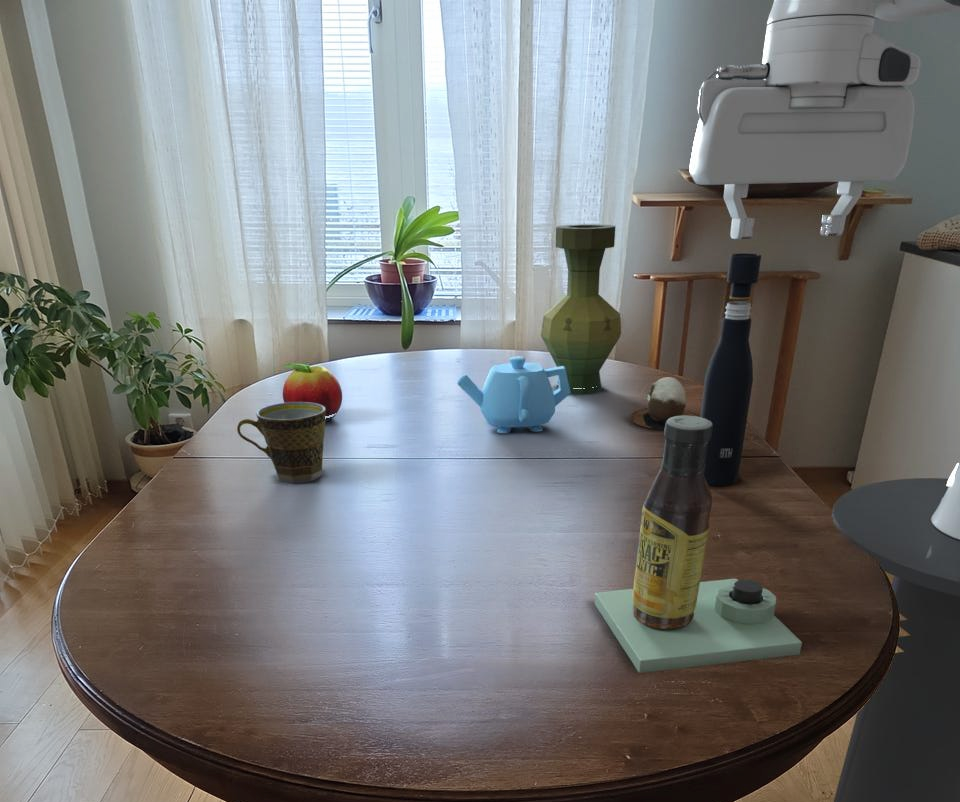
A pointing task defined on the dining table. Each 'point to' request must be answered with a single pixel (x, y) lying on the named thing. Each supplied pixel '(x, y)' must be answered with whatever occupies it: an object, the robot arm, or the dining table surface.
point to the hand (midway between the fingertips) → (786, 237)
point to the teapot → (518, 394)
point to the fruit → (313, 387)
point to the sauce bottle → (674, 528)
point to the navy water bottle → (730, 377)
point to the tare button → (747, 592)
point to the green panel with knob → (700, 630)
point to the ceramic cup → (292, 439)
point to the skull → (662, 404)
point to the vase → (582, 309)
